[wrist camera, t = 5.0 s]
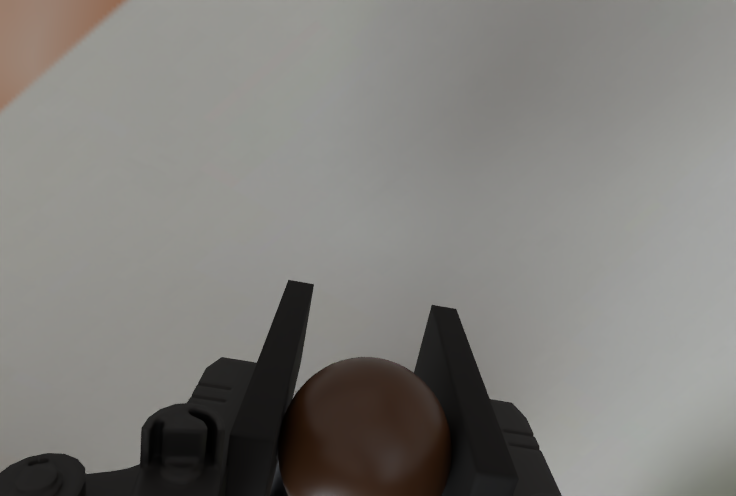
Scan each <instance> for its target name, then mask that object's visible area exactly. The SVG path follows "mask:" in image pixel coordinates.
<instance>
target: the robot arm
mask: <svg viewBox="0 0 736 496" xmlns="http://www.w3.org/2000/svg"><path fill="white" fill-rule="evenodd" d="M313 286H314V284H309V283H303V282H297V281H292V280H288V283H287V286H286V288H285V291H284V293H283V296H282V299H281V301H280V304H279V307H278V309H277V312H276V314H275V317H274V320H273V322H272V325H271V328H270V330H269V333H268V335H267V338H266V341H265V343H264V346H263V349H262V351H261V354H260V356H259V359H258V362H257V363H254V362H248V361H242V360H236V359H230V358H224V357H221V358H220V359H218V360H217V361H216V362H214V363H213V364H211V365H210V366H209V367H207V368H206V370H205V372H204V373H203V375H202V377H201V379H200V381H199V383H198V385H197V386H196V388H195V390H194V392H193V394H192V397H190V399H189V401H188V403H185V404H175V405H172V406H169V407H166V408H163V409H160V410H159V411H157V412H156V413H154V414H153V415H152V416H150V417H149V418H148V419H147V421H146V422H145V424H144V425H143V427H142V432H141V457H140V464H139V465H136V466H134V467H131V468H128V469H123V470H118V471H111V472H102V473H93V474H85V467H84V466H83V465H82V464H81V463H80V462H79V460H78V459H76V458H74V457H71V456H68V455H66V454H54V453H46V454H41V455H37V456H32V457H28V458H26V459H23V460H21V461H19V462H17V463H14V464H12V465H10V466H9V467H7V468H6V469H5V470H3V471H2V472H1V473H0V496H270V493H271V489H272V484H273V480H274V476H275V471H276V467H277V463H278V441H279V436H280V431H281V425H282V421H283V418H284V415H285V413H286V411H287V408H288V406H289V405H290V403H291V401H292V398H293V394H294V389H295V385H296V381H297V376H298V372H299V368H300V363H301V358H302V352H303V346H304V340H305V334H306V328H307V322H308V316H309V310H310V304H311V298H312V292H313ZM414 374H416V375H417V376H418V377H419V378H420V379H422V380H423V381H424V382H425V383H426V385H427V386H428V387H429V388H430V389H431V390H432V392H433V393H434V394H435V396H436V397H437V399H438V400H439V402H440V404H441V406H442V408H443V411H444V413H445V415H446V418H447V422H448V425H449V429H450V434H451V443H452V458H451V468H450V472H449V476H448V480H447V484H446V486H445V488H444V491H443V493H442V495H441V496H562V495H561V493H560V491H559V489H558V487H557V484H556V482H555V480H554V478H553V476H552V474H551V471H550V469H549V467H548V465H547V463H546V460H545V458H544V456H543V454H542V452H541V451H540V450H539V445H538V443H537V441H536V438H535V437H533V432H532V430H531V427H530V425H529V423H528V421H527V419H526V417H525V416H524V415H523V414H522V413H521V412H520V411H519V410H518V409H517V408H516V407H515V406H514V405H513V404H512V403H510V402H504V401H498V400H491V399H489V396H488V394H487V391H486V388H485V386H484V383H483V380H482V378H481V375H480V372H479V369H478V367H477V364H476V361H475V359H474V356H473V353H472V351H471V348H470V345H469V342H468V340H467V337H466V334H465V332H464V329H463V326H462V324H461V321H460V318H459V315H458V313H457V310H456V309H453V308H447V307H441V306H435V305H432V306H431V310H430V314H429V318H428V322H427V325H426V329H425V333H424V337H423V341H422V344H421V348H420V352H419V356H418V360H417V364H416V367H415V371H414Z"/></svg>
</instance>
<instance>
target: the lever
mask: <svg viewBox="0 0 736 496" xmlns="http://www.w3.org/2000/svg"><path fill="white" fill-rule="evenodd" d="M451 458H452V443H451V434H450V429H449V425H448V422H447V418H446V415H445V413H444V411H443V408H442V406H441V404H440V402H439V400H438V399H437V397H436V396H435V394H434V393H433V392H432V390H431V389H430V388H429V387H428V386H427V385H426V383H425V382H424V381H423V380H422V379H420V378H419V377H418V376H417V375H416V374H414V373H413V372H412V371H410V370H408V369H407V368H405V367H403V366H401V365H399V364H397V363H394V362H391V361H389V360H385V359H380V358H373V357H357V358H350V359H346V360H342V361H339V362H336V363H333V364H331V365H329V366H327V367H325V368H323V369H322V370H320V371H319V372H317V373H316V374H315V375H313V376H312V377H311V378H310V379H309V380H308V381H306V383H305V384H304V385H303V386H302V387H301V388H300V390H299V391H298V392H297V393H296V395H295V396H294V398H293V399H292V401H291V403H290V405H289V406H288V408H287V411H286V413H285V415H284V418H283V421H282V425H281V431H280V436H279V441H278V461H279V469H280V473H281V478H282V481H283V484H284V487H285V489H286V492H287V494H288V496H441V495H442V493H443V491H444V488H445V486H446V484H447V480H448V476H449V472H450V468H451Z"/></svg>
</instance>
